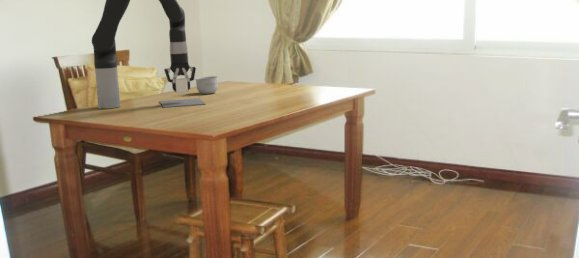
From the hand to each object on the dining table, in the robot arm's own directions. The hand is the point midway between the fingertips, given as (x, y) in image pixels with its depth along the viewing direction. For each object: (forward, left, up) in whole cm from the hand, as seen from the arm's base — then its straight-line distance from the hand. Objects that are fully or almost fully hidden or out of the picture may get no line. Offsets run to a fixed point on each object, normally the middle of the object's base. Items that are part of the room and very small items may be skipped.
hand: (181, 90), depth 266 cm
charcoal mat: (0, 0, -6) cm, 6 cm away
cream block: (0, 0, -1) cm, 1 cm away
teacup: (+17, +28, -6) cm, 33 cm away
